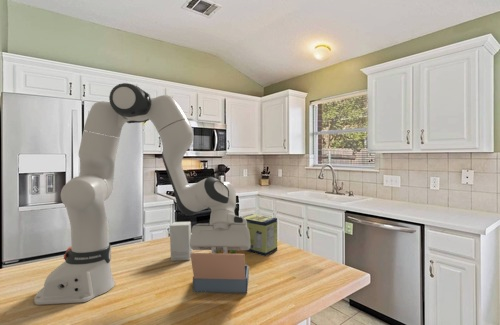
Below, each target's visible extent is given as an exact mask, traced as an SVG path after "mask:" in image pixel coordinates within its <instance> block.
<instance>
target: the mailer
mask: <svg viewBox="0 0 500 325" xmlns="http://www.w3.org/2000/svg"><path fill="white" fill-rule="evenodd" d="M249 268H250V267H249V264H245V279H194V275H193V277H192V293H203V294H204V293H213V294H214V293H215V294H248V289H249V288H248V287H249V277H250V276H249V274H250V273H249V272H250V271H249Z"/></svg>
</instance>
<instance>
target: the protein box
mask: <svg viewBox="0 0 500 325" xmlns="http://www.w3.org/2000/svg"><path fill="white" fill-rule="evenodd" d="M242 217H243V218H245V219H246V221H247V227H248V229H249V233H250V244H251V247H250V249H249V250H243V251H244V252H248V253H251V254H255V255H259V256H264V257H267V256H268V255H270V254H272V253H274V252H276V251H278V217H272V216H266V215H259V214H255V213H251V214H248V215H245V216H242Z"/></svg>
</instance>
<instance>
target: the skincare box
mask: <svg viewBox="0 0 500 325" xmlns="http://www.w3.org/2000/svg"><path fill="white" fill-rule="evenodd" d="M191 231H192V222H191V221H174V222H172V223H171V224H170V225H169V238H170V239H169V240H170V242H169V244H170V246H169V247H170V261H172V262H175V261H191V256H190V253H193V250H192V248H191V247H190V244H189V242H190V238H191V235H192V233H191Z"/></svg>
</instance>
